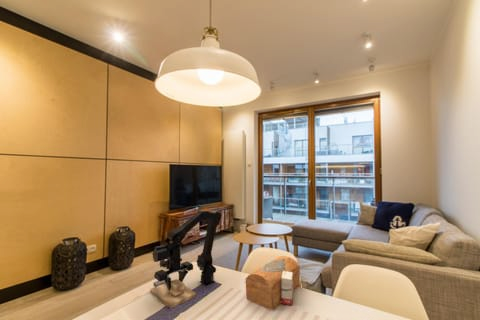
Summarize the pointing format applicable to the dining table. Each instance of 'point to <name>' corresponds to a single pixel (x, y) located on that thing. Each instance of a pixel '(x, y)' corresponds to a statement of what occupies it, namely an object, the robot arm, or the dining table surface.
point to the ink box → (287, 287)
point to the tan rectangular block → (176, 288)
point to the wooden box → (271, 282)
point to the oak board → (167, 298)
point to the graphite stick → (159, 283)
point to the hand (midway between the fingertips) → (174, 288)
